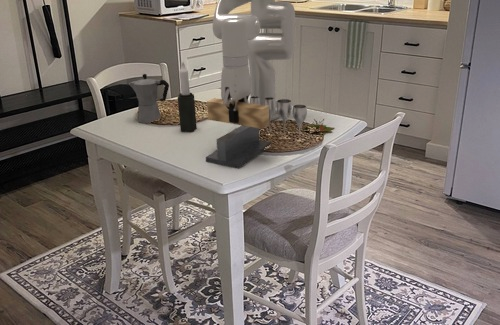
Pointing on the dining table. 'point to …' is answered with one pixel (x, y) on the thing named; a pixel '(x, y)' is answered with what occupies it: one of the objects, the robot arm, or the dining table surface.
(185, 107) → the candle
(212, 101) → the oak beam
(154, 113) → the coffeepot
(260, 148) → the steel ridge
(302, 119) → the goblet set
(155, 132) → the dining table surface
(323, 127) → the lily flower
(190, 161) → the dining table surface
